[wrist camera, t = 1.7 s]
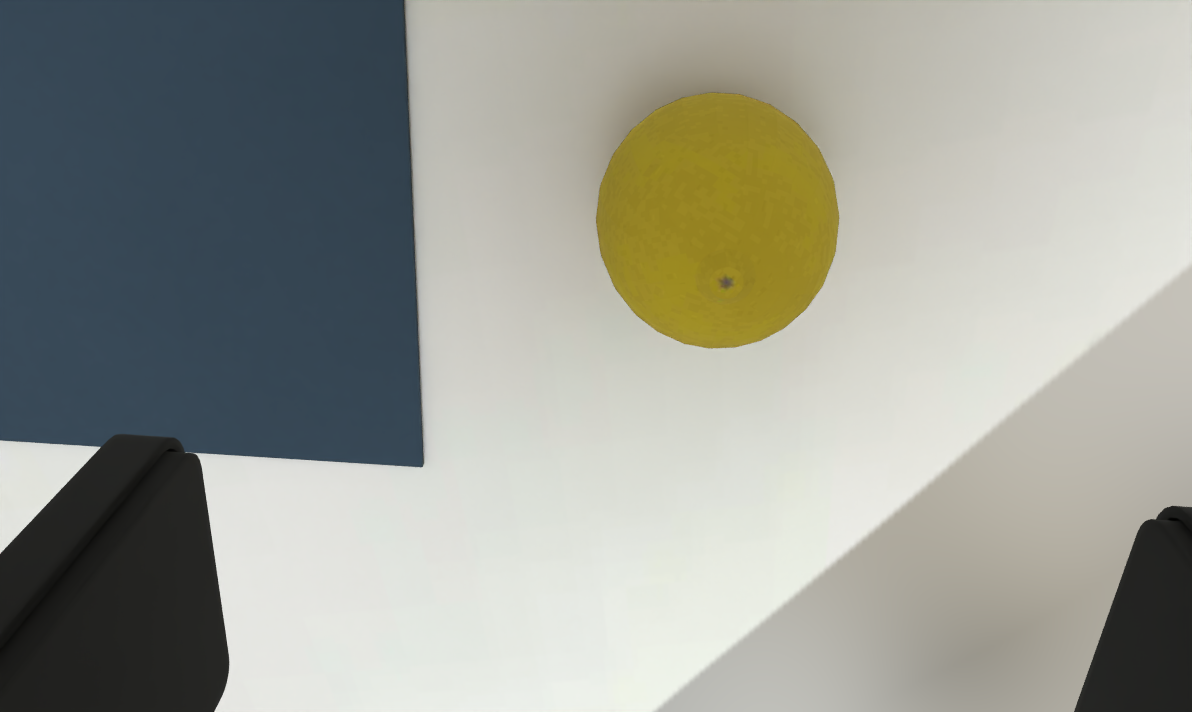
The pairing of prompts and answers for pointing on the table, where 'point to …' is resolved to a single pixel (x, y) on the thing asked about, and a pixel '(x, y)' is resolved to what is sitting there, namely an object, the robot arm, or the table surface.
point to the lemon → (717, 220)
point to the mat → (209, 227)
